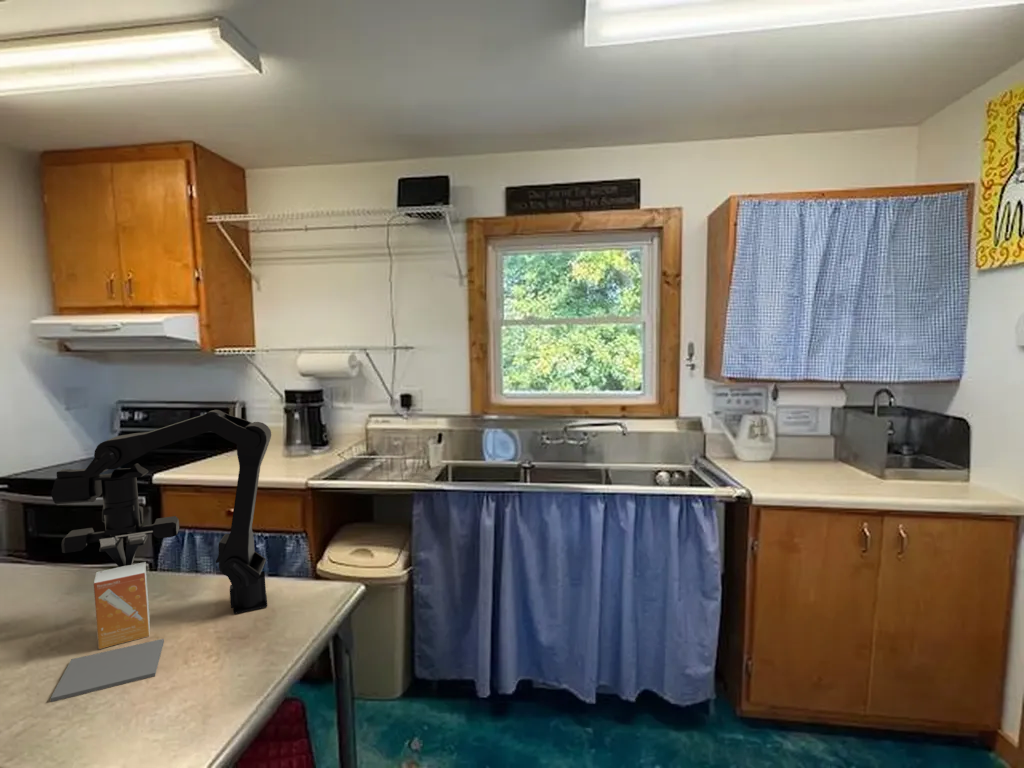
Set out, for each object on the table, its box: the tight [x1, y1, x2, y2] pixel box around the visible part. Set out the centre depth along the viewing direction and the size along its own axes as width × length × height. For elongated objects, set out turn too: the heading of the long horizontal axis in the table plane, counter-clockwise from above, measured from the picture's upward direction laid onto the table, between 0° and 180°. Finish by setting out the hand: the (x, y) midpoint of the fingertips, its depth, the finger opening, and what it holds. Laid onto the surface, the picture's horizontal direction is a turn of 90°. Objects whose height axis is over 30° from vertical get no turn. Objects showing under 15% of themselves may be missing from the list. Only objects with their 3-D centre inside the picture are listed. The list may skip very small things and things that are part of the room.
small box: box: [93, 561, 151, 650], centre depth 105 cm, size 8×6×13 cm
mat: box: [50, 638, 165, 703], centre depth 95 cm, size 14×12×1 cm
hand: (127, 574), depth 110 cm, fingers closed
